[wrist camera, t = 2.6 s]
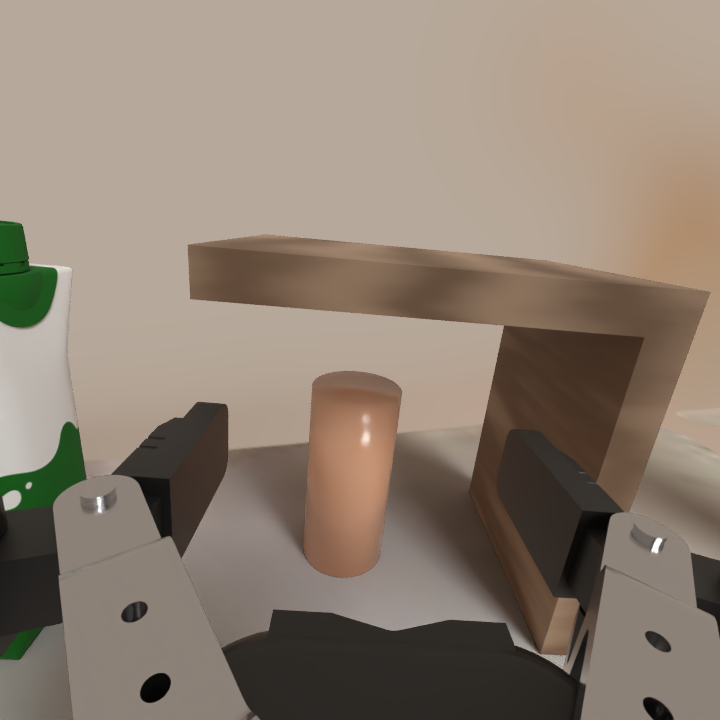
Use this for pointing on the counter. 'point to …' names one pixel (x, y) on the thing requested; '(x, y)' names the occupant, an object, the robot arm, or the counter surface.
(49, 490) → the milk carton
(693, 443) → the counter surface
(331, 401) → the peach cylinder
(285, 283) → the walnut shelf
